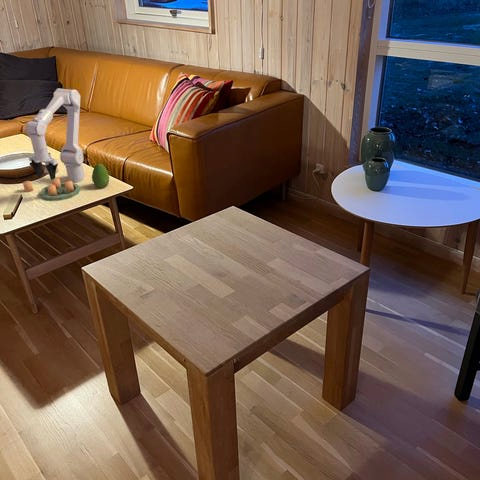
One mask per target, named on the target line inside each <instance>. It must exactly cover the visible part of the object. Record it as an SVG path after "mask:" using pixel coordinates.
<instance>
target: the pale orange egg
mask: <svg viewBox="0 0 480 480" xmlns="http://www.w3.org/2000/svg"><path fill="white" fill-rule="evenodd" d="M46 187H47V189H48V194H49V196H57V191H56V186H55V185H52V184H48V185H47V186H46Z"/></svg>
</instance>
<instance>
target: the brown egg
mask: <svg viewBox="0 0 480 480" xmlns="http://www.w3.org/2000/svg"><path fill="white" fill-rule="evenodd" d="M22 184H23V185H22V186H23V189H24V192H25V193H30V192H31V193H32V192H33V191H34V187H33V185H32V184H33V183H32V181H31V180H26V181H23V182H22Z"/></svg>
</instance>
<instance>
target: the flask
mask: <svg viewBox="0 0 480 480" xmlns="http://www.w3.org/2000/svg"><path fill="white" fill-rule="evenodd" d="M51 153H52V152H48V154H49V157H51V158H52V154H51ZM46 165H49V164H48V163H44V170H43V173H44V174H48V175H49V172H48V170H47V168H46V167H45V166H46ZM58 172H59V168H58V167H57V168H56V173H58Z"/></svg>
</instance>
